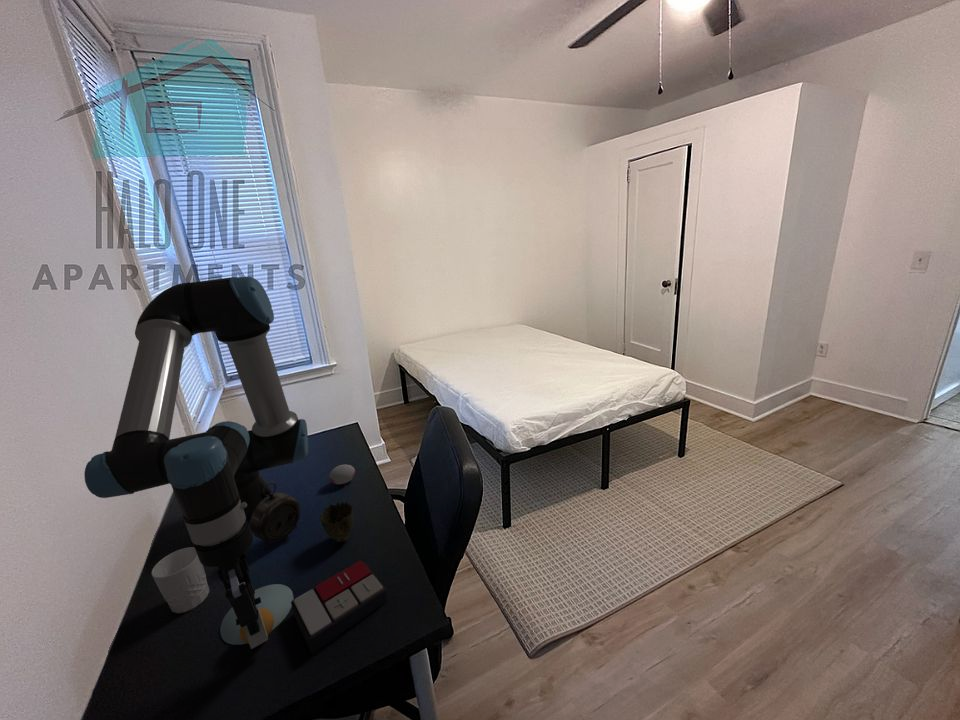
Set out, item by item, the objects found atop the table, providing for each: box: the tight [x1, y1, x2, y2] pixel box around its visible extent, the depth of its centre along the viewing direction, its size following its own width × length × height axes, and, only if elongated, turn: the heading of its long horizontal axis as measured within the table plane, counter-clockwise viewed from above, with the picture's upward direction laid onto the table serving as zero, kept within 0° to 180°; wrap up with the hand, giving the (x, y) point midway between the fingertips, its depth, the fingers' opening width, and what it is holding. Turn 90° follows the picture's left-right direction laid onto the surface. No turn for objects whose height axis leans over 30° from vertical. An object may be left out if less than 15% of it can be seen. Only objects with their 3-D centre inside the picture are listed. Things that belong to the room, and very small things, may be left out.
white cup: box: [150, 546, 210, 614], centre depth 81 cm, size 8×8×10 cm
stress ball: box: [328, 464, 356, 488], centre depth 119 cm, size 8×8×7 cm
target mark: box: [219, 583, 294, 646], centre depth 78 cm, size 13×13×1 cm
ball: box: [240, 608, 274, 645], centre depth 72 cm, size 6×6×6 cm
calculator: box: [291, 560, 389, 654], centre depth 77 cm, size 11×4×15 cm
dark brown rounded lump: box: [319, 501, 354, 544], centre depth 95 cm, size 8×7×8 cm
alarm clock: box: [249, 481, 301, 551], centre depth 95 cm, size 11×5×16 cm, turn 150°
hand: (259, 641), depth 69 cm, fingers closed
